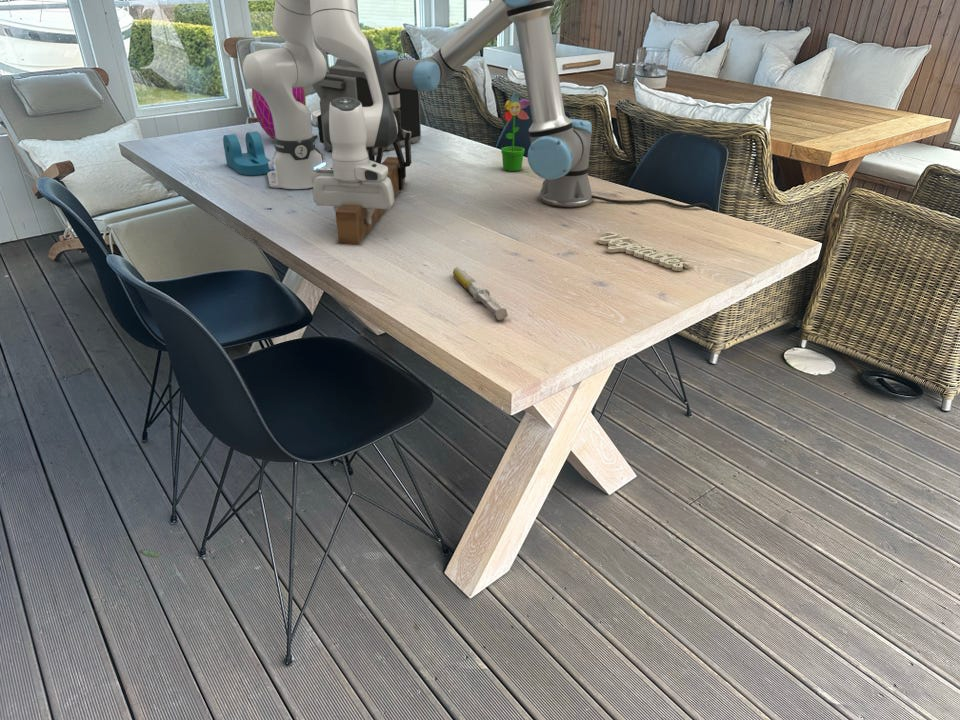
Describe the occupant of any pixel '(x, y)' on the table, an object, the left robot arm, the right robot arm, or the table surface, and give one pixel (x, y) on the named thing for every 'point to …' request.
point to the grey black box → (364, 99)
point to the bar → (363, 211)
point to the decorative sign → (642, 251)
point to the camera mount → (246, 154)
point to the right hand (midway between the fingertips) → (391, 188)
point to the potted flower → (513, 154)
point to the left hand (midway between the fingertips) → (355, 223)
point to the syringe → (479, 293)
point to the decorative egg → (264, 110)
